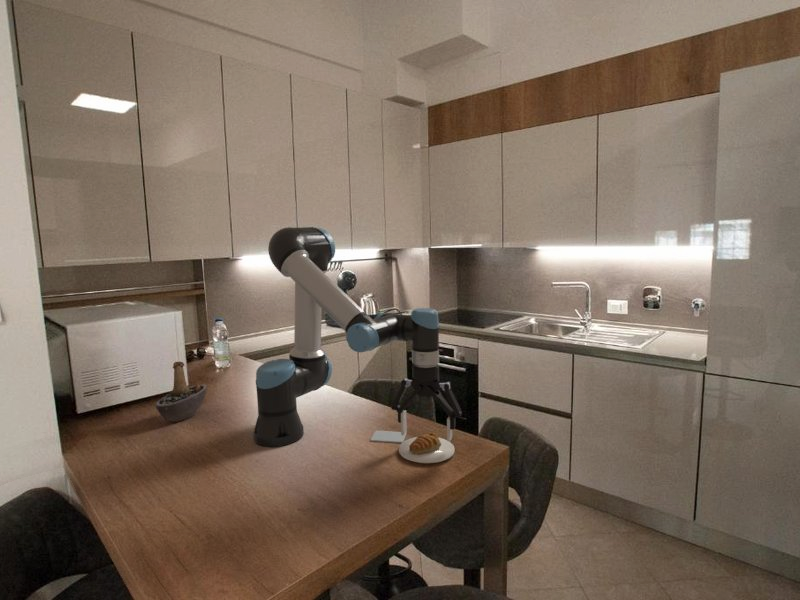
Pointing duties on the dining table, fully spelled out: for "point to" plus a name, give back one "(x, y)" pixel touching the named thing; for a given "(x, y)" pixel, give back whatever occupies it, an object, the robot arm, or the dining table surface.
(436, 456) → the plate
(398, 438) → the napkin
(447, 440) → the robot arm
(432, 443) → the pastry
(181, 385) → the planter
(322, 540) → the dining table surface
